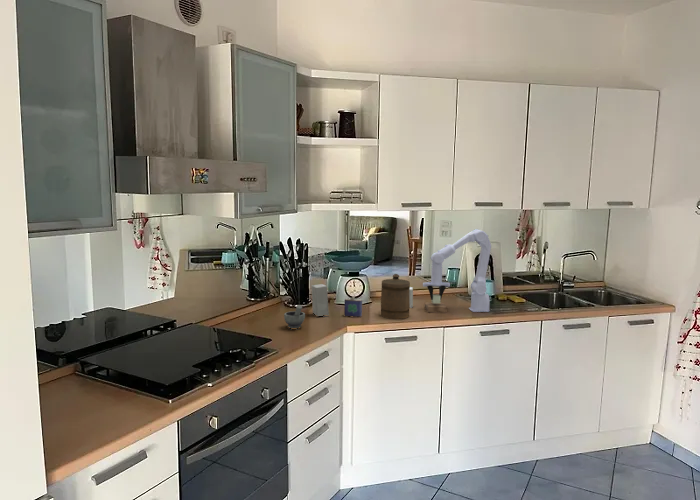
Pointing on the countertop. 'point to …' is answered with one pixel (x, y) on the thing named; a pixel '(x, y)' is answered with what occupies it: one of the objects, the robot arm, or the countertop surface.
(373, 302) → the countertop surface
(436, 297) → the cube
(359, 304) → the flask
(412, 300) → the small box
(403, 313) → the wooden container
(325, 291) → the skincare box
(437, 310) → the base block
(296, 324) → the mortar and pestle
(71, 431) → the countertop surface
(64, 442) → the countertop surface
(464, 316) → the countertop surface
